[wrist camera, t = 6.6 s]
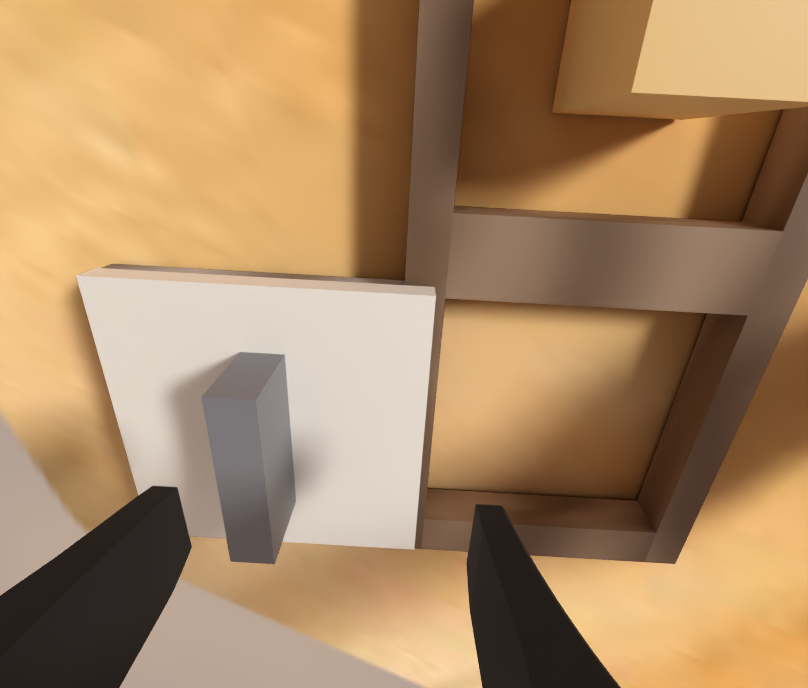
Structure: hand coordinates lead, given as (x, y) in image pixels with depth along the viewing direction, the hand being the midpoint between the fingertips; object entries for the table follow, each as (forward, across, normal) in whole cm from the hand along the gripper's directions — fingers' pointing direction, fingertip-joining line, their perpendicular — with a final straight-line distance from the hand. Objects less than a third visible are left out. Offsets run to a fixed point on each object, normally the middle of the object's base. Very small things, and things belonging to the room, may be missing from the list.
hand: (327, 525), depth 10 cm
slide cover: (+7, +3, +2) cm, 8 cm away
